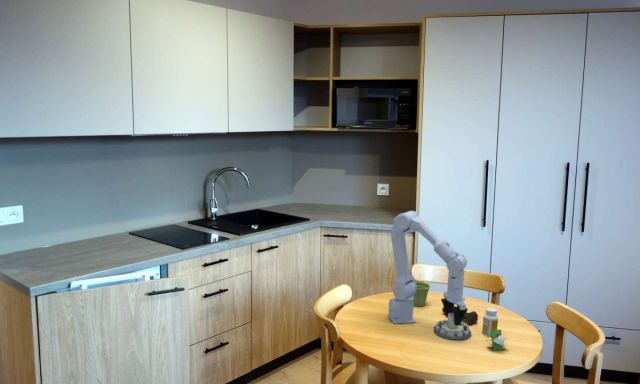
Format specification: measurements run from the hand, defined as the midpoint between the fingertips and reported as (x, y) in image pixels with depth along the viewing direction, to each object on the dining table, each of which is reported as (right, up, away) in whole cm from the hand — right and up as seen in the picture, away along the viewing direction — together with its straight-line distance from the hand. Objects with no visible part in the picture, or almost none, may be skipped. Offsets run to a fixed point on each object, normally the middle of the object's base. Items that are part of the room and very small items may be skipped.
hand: (452, 321), depth 202 cm
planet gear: (0, -4, +1) cm, 4 cm away
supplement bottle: (+14, -5, +1) cm, 15 cm away
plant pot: (-7, 0, +30) cm, 31 cm away
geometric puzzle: (+13, -7, -12) cm, 19 cm away
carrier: (0, -5, +1) cm, 5 cm away
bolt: (+6, -3, +15) cm, 17 cm away
